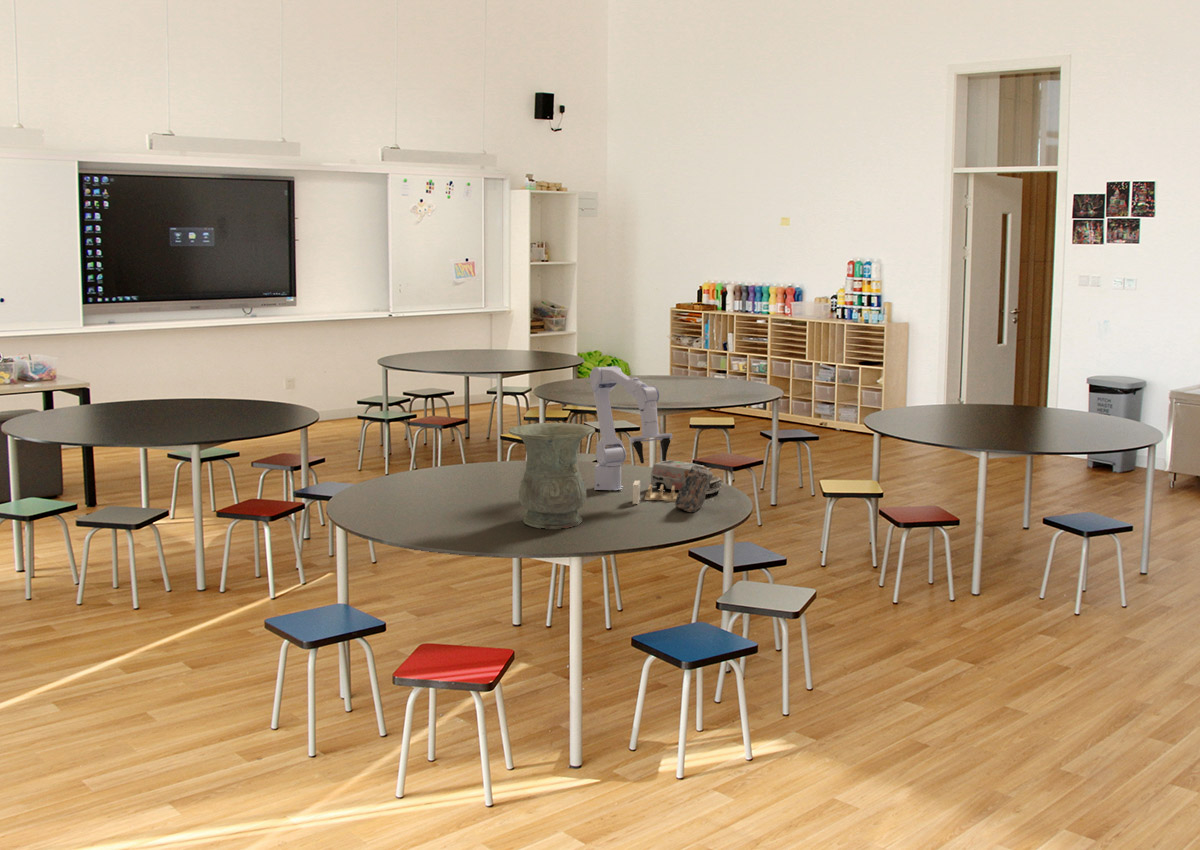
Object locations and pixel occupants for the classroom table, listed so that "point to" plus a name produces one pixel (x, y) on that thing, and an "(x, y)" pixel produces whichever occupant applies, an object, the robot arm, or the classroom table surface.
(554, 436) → the vessel
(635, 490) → the tall cream block
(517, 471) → the classroom table surface
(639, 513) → the classroom table surface
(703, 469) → the stone
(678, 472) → the toy car
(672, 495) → the rack
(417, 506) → the classroom table surface
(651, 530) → the classroom table surface
